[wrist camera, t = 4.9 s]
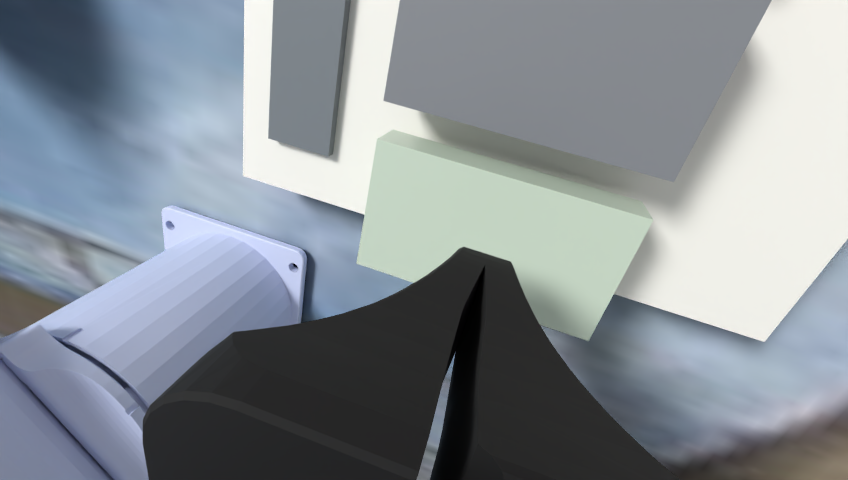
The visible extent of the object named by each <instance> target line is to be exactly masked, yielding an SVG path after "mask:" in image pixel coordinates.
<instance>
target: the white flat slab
mask: <svg viewBox="0 0 848 480" xmlns="http://www.w3.org/2000/svg"><path fill="white" fill-rule="evenodd" d="M399 3H400V0H244V111H243V176H245V177H248V178H251V179H254V180H257V181H260V182H263V183H267V184H270V185H273V186H276V187H279V188H282V189H285V190H289V191H292V192H295V193H298V194H301V195H304V196H307V197H311V198H314V199H317V200H320V201H323V202H326V203H329V204H333V205H336V206H339V207H342V208H345V209H348V210H351V211H355V212H358V213H361V214H364V215H365V209H366V203H367V197H368V191H369V185H370V179H371V173H372V167H373V160H374V154H375V148H376V142H377V139H378V138H379V137H381V136H383V135H385V134H386V133H388V132H390V131H391V130H397V131H400V132H404V133H407V134H410V135H414V136H417V137H421V138H424V139H428V140H431V141H435V142H438V143H442V144H445V145H449V146H452V147H456V148H459V149H462V150H466V151H469V152H473V153H476V154H480V155H483V156H487V157H490V158H494V159H497V160H501V161H504V162H508V163H511V164H514V165H518V166H521V167H525V168H528V169H532V170H535V171H539V172H542V173H546V174H549V175H553V176H556V177H560V178H563V179H567V180H570V181H573V182H577V183H580V184H584V185H587V186H591V187H594V188H598V189H601V190H605V191H608V192H612V193H615V194H619V195H622V196H625V197H629V198H632V199H636V200H639V201H642V202H643V204H644V205H645V207H646V209H647V210H648V212H649V213H650V215H651V217H652V218H653V222H652V224H651V226H650V228H649V229H648V231H647V233H646V235H645V237H644V239H643V241H642V242H641V244H640V246H639V248H638V250H637V252H636V254H635V255H634V257H633V259H632V261H631V263H630V265H629V267H628V269H627V270H626V272H625V274H624V276H623V278H622V280H621V282H620V283H619V285H618V287H617V289H616V291H615V293H614V294H615V295H618V296H622V297H625V298H628V299H631V300H634V301H637V302H640V303H644V304H647V305H650V306H653V307H656V308H659V309H662V310H666V311H669V312H672V313H675V314H678V315H681V316H684V317H688V318H691V319H694V320H697V321H700V322H703V323H706V324H710V325H713V326H716V327H719V328H722V329H725V330H728V331H732V332H735V333H738V334H741V335H744V336H747V337H750V338H754V339H757V340H760V341H763V342H765V341H766V339H767V338H768V337H769V336H770V334H771V333H772V332H773V331H774V329H775V328H776V327H777V326H778V324H779V323H780V322H781V321H782V320H783V318H784V317H785V316H786V315H787V313H788V312H789V311H790V310H791V308H792V307H793V306H794V305H795V303H796V302H797V301H798V300H799V298H800V297H801V296H802V295H803V294H804V292H805V291H806V290H807V289H808V287H809V286H810V285H811V284H812V282H813V281H814V280H815V279H816V277H817V276H818V275H819V274H820V272H821V271H822V270H823V269H824V268H825V266H826V265H827V264H828V263H829V261H830V260H831V259H832V258H833V256H834V255H835V254H836V253H837V251H838V250H839V249H840V248H841V246H842V245H843V244H844V243H845V242H846V240H847V239H848V0H772V1H771V3H770V5H769V6H768V8H767V10H766V12H765V14H764V16H763V18H762V19H761V21H760V23H759V25H758V27H757V29H756V31H755V32H754V34H753V36H752V38H751V40H750V42H749V44H748V45H747V47H746V49H745V51H744V53H743V55H742V57H741V58H740V60H739V62H738V64H737V66H736V68H735V70H734V71H733V73H732V75H731V77H730V79H729V81H728V83H727V84H726V86H725V88H724V90H723V92H722V94H721V96H720V97H719V99H718V101H717V103H716V105H715V107H714V109H713V110H712V112H711V114H710V116H709V118H708V120H707V122H706V124H705V125H704V127H703V129H702V131H701V133H700V135H699V137H698V138H697V140H696V142H695V144H694V146H693V148H692V150H691V151H690V153H689V155H688V157H687V159H686V161H685V163H684V164H683V166H682V168H681V170H680V172H679V174H678V176H677V177H676V179H675V181H674V182H671V181H668V180H664V179H660V178H657V177H653V176H650V175H646V174H643V173H639V172H635V171H632V170H628V169H625V168H621V167H618V166H614V165H610V164H607V163H603V162H600V161H596V160H593V159H589V158H585V157H582V156H578V155H575V154H571V153H568V152H564V151H560V150H557V149H553V148H550V147H546V146H543V145H539V144H535V143H532V142H528V141H525V140H521V139H518V138H514V137H510V136H507V135H503V134H500V133H496V132H493V131H489V130H485V129H482V128H478V127H475V126H471V125H468V124H464V123H460V122H457V121H453V120H450V119H446V118H443V117H439V116H436V115H432V114H428V113H425V112H421V111H418V110H414V109H411V108H407V107H403V106H400V105H396V104H393V103H389V102H386V101H383V100H384V94H385V88H386V82H387V75H388V69H389V63H390V57H391V51H392V45H393V39H394V33H395V27H396V21H397V15H398V9H399Z"/></svg>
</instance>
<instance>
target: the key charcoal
mask: <svg viewBox="0 0 848 480" xmlns="http://www.w3.org/2000/svg"><path fill="white" fill-rule="evenodd" d="M771 1H772V0H400V3H399V9H398V15H397V21H396V27H395V33H394V39H393V45H392V51H391V57H390V63H389V69H388V75H387V82H386V88H385V94H384V100H383V101H386V102H389V103H393V104H396V105H400V106H403V107H407V108H411V109H414V110H418V111H421V112H425V113H428V114H432V115H436V116H439V117H443V118H446V119H450V120H453V121H457V122H460V123H464V124H468V125H471V126H475V127H478V128H482V129H485V130H489V131H493V132H496V133H500V134H503V135H507V136H510V137H514V138H518V139H521V140H525V141H528V142H532V143H535V144H539V145H543V146H546V147H550V148H553V149H557V150H560V151H564V152H568V153H571V154H575V155H578V156H582V157H585V158H589V159H593V160H596V161H600V162H603V163H607V164H610V165H614V166H618V167H621V168H625V169H628V170H632V171H635V172H639V173H643V174H646V175H650V176H653V177H657V178H660V179H664V180H668V181H671V182H674V181H675V179H676V177H677V176H678V174H679V172H680V170H681V168H682V166H683V164H684V163H685V161H686V159H687V157H688V155H689V153H690V151H691V150H692V148H693V146H694V144H695V142H696V140H697V138H698V137H699V135H700V133H701V131H702V129H703V127H704V125H705V124H706V122H707V120H708V118H709V116H710V114H711V112H712V110H713V109H714V107H715V105H716V103H717V101H718V99H719V97H720V96H721V94H722V92H723V90H724V88H725V86H726V84H727V83H728V81H729V79H730V77H731V75H732V73H733V71H734V70H735V68H736V66H737V64H738V62H739V60H740V58H741V57H742V55H743V53H744V51H745V49H746V47H747V45H748V44H749V42H750V40H751V38H752V36H753V34H754V32H755V31H756V29H757V27H758V25H759V23H760V21H761V19H762V18H763V16H764V14H765V12H766V10H767V8H768V6H769V5H770V3H771Z"/></svg>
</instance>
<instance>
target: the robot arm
mask: <svg viewBox="0 0 848 480" xmlns="http://www.w3.org/2000/svg"><path fill="white" fill-rule="evenodd" d="M162 223H163V234H164V244H165V251H164V252H162V253H160V254H158V255H156V256H155V257H153V258H151V259H149V260H147V261H146V262H144V263H142V264H140V265H138V266H137V267H135V268H133V269H131V270H129V271H128V272H126V273H124V274H122V275H120V276H119V277H117V278H115V279H113V280H111V281H110V282H108V283H106V284H104V285H102V286H101V287H99V288H97V289H95V290H93V291H92V292H90V293H88V294H86V295H84V296H83V297H81V298H79V299H77V300H75V301H74V302H72V303H70V304H68V305H66V306H65V307H63V308H61V309H59V310H57V311H56V312H54V313H52V314H50V315H48V316H47V317H45V318H43V319H41V320H39V321H38V322H36V323H34V324H32V325H30V326H29V327H27V328H25V329H22V330H20V331H18V332H15V333H13V334H11V335H8V336H6V337H3V338H1V339H0V480H416V479H417V476H418V473H419V469H420V466H421V462H422V459H423V455H424V452H425V448H426V445H427V441H428V438H429V434H430V430H431V426H432V422H433V418H434V414H435V410H436V406H437V402H438V398H439V394H440V390H441V386H442V383H443V380H444V378H445V375H446V373H447V371H448V368H449V366H450V363H451V361H452V359H453V356H454V354H455V359H454V365H453V370H452V376H451V382H450V388H449V394H448V400H447V406H446V412H445V418H444V424H443V430H442V434H441V439H440V444H439V448H438V452H437V455H436V459H435V463H434V467H433V470H432V474H431V478H430V480H679V479H678V478H677V477H676V476H675V475H674V474H672V473H671V472H670V471H669V470H668V469H666V468H665V467H664V466H663V465H662V464H661V463H659V462H658V461H657V460H656V459H655V458H654V457H652V456H651V455H650V454H649V453H648V452H647V451H646V450H645V449H644V448H643V447H642V446H641V445H640V444H639V443H638V442H637V441H636V440H634V439H633V438H632V437H631V436H630V435H629V434H628V433H627V432H626V431H625V430H624V429H623V428H622V427H621V426H620V425H619V424H618V423H617V422H616V421H615V420H614V419H613V418H612V417H611V416H610V415H609V414H608V413H607V412H606V411H605V410H604V409H603V408H602V406H601V405H600V404H599V403H598V402H597V401H596V400H595V399H594V397H593V396H592V395H591V394H590V393H589V392H588V391H587V389H586V388H585V387H584V386H583V385H582V384H581V383H580V381H579V380H578V379H577V378H576V376H575V375H574V374H573V373H572V371H571V370H570V369H569V368H568V366H567V365H566V363H565V362H564V361H563V359H562V358H561V357H560V355H559V354H558V352H557V351H556V350H555V348H554V347H553V345H552V344H551V342H550V341H549V339H548V338H547V336H546V334H545V333H544V331H543V329H542V328H541V326H540V324H539V323H538V321H537V319H536V317H535V315H534V313H533V311H532V309H531V307H530V305H529V303H528V301H527V299H526V296H525V294H524V292H523V290H522V287H521V285H520V282H519V280H518V277H517V275H516V272H515V269H514V267H513V265H512V263H511V261H508V260H504V259H501V258H498V257H495V256H492V255H489V254H486V253H482V252H479V251H476V250H473V249H470V248H467V247H461V248H459V249H458V250H457V251H456V252H455V253H454V254H453V255H452V256H451V257H450V258H449V259H447V260H446V261H445V262H444V263H442V264H441V265H440V266H438V267H437V268H436V269H434V270H433V271H432V272H430V273H429V274H427V275H426V276H424V277H423V278H421V279H420V280H418V281H416V282H415V283H413V284H411V285H410V286H408V287H406V288H404V289H403V290H401V291H399V292H397V293H395V294H393V295H391V296H389V297H387V298H384V299H382V300H380V301H378V302H375V303H373V304H370V305H367V306H364V307H361V308H358V309H355V310H352V311H349V312H346V313H343V314H339V315H335V316H331V317H327V318H323V319H319V320H314V321H309V322H304V323H301V316H302V306H303V295H304V285H305V275H306V264H307V256H306V254H305V252H304V251H303V250H302V249H300V248H298V247H295V246H292V245H289V244H286V243H283V242H280V241H277V240H274V239H271V238H268V237H265V236H262V235H259V234H257V233H254V232H251V231H248V230H245V229H242V228H239V227H236V226H233V225H230V224H227V223H224V222H221V221H218V220H215V219H212V218H209V217H206V216H203V215H200V214H197V213H194V212H191V211H188V210H185V209H182V208H179V207H176V206H172V205H170V206H168V207H165V208H163V210H162ZM172 223H173V224H174V225H173V224H172ZM293 263H294V264H296V265H297V267H298V269H297V268H296V267H294V265H293ZM455 351H456V353H455Z"/></svg>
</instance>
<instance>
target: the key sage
mask: <svg viewBox="0 0 848 480" xmlns="http://www.w3.org/2000/svg"><path fill="white" fill-rule="evenodd" d="M652 222H653V218H652V217H651V215H650V213H649V212H648V210H647V209H646V207H645V205H644V204H643V202H642V201H639V200H636V199H632V198H629V197H625V196H622V195H619V194H615V193H612V192H608V191H605V190H601V189H598V188H594V187H591V186H587V185H584V184H580V183H577V182H573V181H570V180H567V179H563V178H560V177H556V176H553V175H549V174H546V173H542V172H539V171H535V170H532V169H528V168H525V167H521V166H518V165H514V164H511V163H508V162H504V161H501V160H497V159H494V158H490V157H487V156H483V155H480V154H476V153H473V152H469V151H466V150H462V149H459V148H456V147H452V146H449V145H445V144H442V143H438V142H435V141H431V140H428V139H424V138H421V137H417V136H414V135H410V134H407V133H404V132H400V131H397V130H391V131H390V132H388V133H386V134H385V135H383V136H381V137H379V138H378V139H377V142H376V148H375V154H374V160H373V167H372V173H371V179H370V185H369V191H368V197H367V203H366V209H365V215H364V221H363V227H362V233H361V239H360V245H359V251H358V258H357V264H359V265H362V266H365V267H368V268H371V269H374V270H377V271H380V272H383V273H386V274H389V275H392V276H395V277H398V278H401V279H404V280H407V281H410V282H413V283H415V282H416V281H418V280H420V279H421V278H423V277H424V276H426V275H427V274H429V273H430V272H432V271H433V270H434V269H436V268H437V267H438V266H440V265H441V264H442V263H444V262H445V261H446V260H447V259H449V258H450V257H451V256H452V255H453V254H454V253H455V252H456V251H457V250H458V249H459V248H461V247H467V248H470V249H473V250H476V251H479V252H482V253H486V254H489V255H492V256H495V257H498V258H501V259H504V260H508V261H511V263H512V265H513V267H514V269H515V272H516V275H517V277H518V280H519V282H520V285H521V287H522V290H523V292H524V294H525V296H526V299H527V301H528V303H529V305H530V307H531V309H532V311H533V313H534V315H535V317H536V319H537V321H538V323H539V324H540V325H542V326H545V327H548V328H551V329H553V330H556V331H559V332H562V333H565V334H568V335H571V336H574V337H577V338H580V339H583V340H586V341H589V339H590V337H591V335H592V334H593V332H594V330H595V328H596V326H597V324H598V322H599V321H600V319H601V317H602V315H603V313H604V311H605V309H606V308H607V306H608V304H609V302H610V300H611V298H612V296H613V295H614V293H615V291H616V289H617V287H618V285H619V283H620V282H621V280H622V278H623V276H624V274H625V272H626V270H627V269H628V267H629V265H630V263H631V261H632V259H633V257H634V255H635V254H636V252H637V250H638V248H639V246H640V244H641V242H642V241H643V239H644V237H645V235H646V233H647V231H648V229H649V228H650V226H651V224H652Z"/></svg>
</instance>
